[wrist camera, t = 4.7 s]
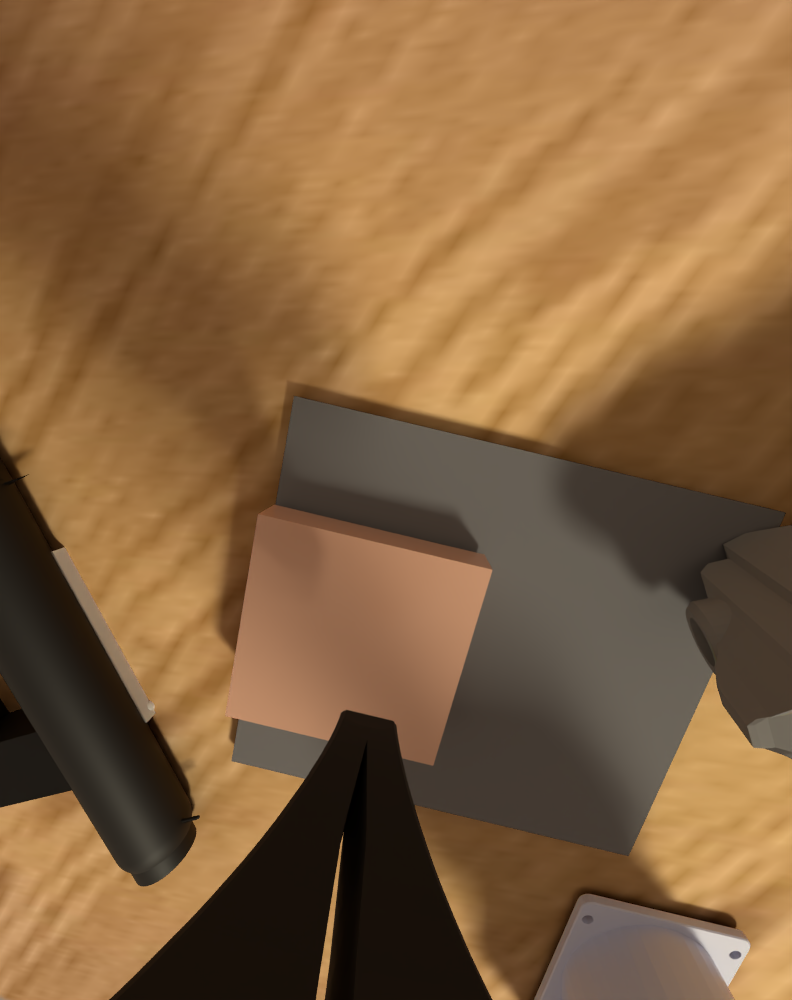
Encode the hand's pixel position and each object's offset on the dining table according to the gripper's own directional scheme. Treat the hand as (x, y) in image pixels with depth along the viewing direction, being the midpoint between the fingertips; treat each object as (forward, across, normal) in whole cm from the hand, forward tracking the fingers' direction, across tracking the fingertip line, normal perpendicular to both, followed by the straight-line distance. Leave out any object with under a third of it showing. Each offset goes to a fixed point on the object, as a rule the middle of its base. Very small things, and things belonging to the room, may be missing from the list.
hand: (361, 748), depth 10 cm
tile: (+5, -3, 0) cm, 6 cm away
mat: (+6, -4, 0) cm, 8 cm away
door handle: (+7, +17, +8) cm, 20 cm away
